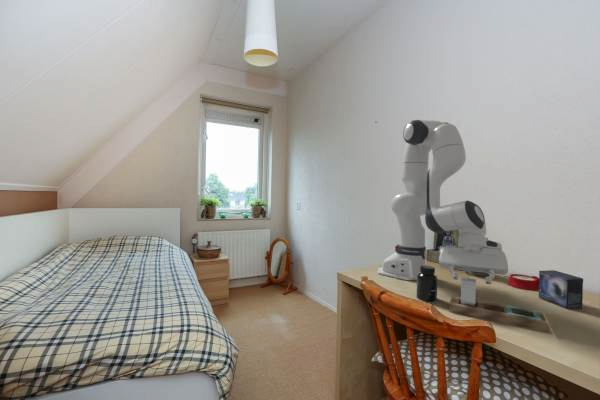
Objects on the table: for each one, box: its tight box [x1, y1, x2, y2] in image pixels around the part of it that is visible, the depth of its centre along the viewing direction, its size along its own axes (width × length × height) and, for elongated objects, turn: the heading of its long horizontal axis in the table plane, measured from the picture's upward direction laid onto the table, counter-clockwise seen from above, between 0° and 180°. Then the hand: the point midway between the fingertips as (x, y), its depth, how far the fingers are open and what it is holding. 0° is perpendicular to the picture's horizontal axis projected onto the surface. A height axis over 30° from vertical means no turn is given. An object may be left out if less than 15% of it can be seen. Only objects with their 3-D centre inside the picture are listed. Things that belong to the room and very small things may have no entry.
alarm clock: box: [502, 273, 539, 291], centre depth 118 cm, size 10×6×15 cm
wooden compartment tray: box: [448, 295, 549, 333], centre depth 87 cm, size 24×9×3 cm, turn 57°
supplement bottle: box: [416, 265, 438, 303], centre depth 101 cm, size 7×7×12 cm
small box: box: [538, 269, 584, 310], centre depth 100 cm, size 11×6×10 cm, turn 5°
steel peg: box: [460, 276, 477, 307], centre depth 91 cm, size 4×4×10 cm
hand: (471, 280), depth 93 cm, fingers open, 8 cm apart
